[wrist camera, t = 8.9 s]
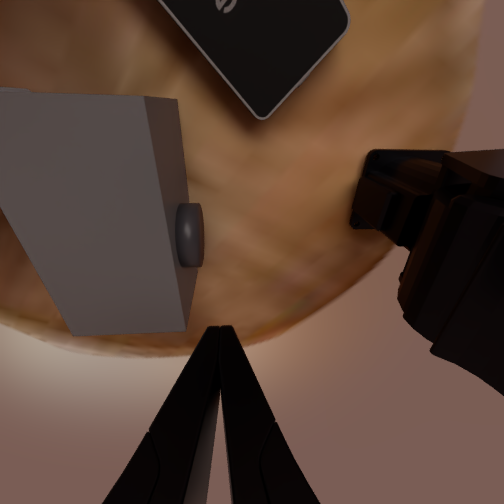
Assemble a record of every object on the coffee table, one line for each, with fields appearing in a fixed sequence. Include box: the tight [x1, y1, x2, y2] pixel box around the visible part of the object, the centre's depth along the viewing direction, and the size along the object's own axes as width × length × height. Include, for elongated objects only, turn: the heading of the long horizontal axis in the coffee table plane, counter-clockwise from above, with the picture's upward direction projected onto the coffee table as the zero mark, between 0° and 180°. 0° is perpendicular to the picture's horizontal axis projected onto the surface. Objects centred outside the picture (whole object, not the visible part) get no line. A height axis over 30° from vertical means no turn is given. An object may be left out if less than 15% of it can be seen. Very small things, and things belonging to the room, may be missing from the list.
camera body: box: [0, 91, 204, 336], centre depth 16 cm, size 9×14×7 cm, turn 179°
